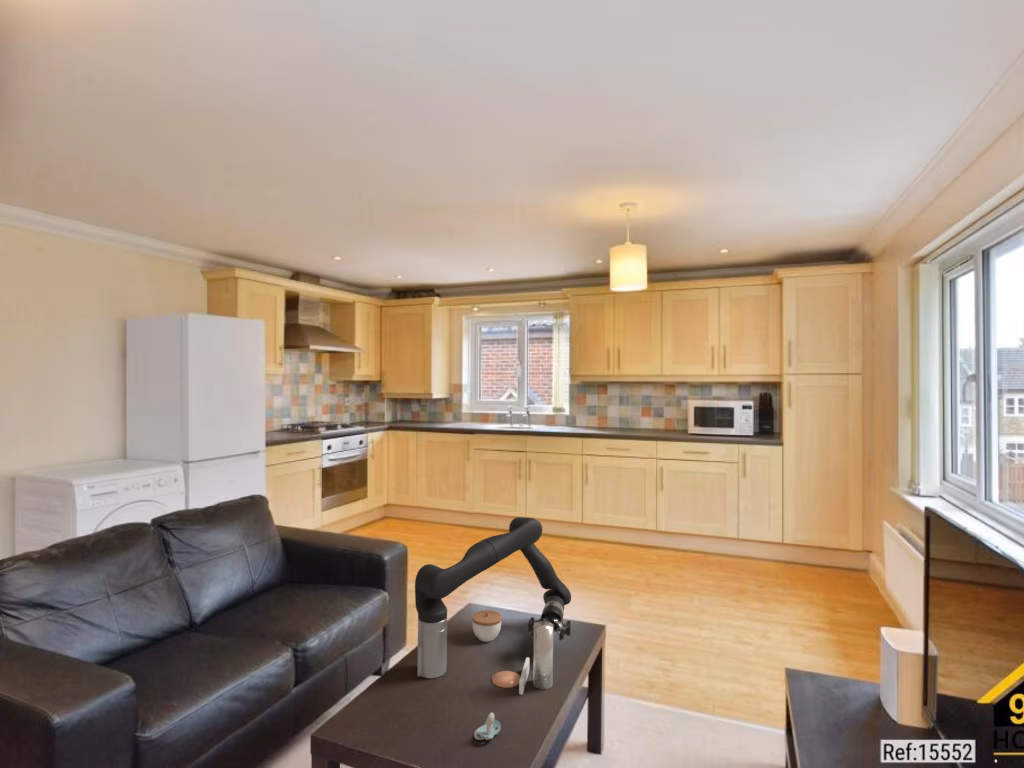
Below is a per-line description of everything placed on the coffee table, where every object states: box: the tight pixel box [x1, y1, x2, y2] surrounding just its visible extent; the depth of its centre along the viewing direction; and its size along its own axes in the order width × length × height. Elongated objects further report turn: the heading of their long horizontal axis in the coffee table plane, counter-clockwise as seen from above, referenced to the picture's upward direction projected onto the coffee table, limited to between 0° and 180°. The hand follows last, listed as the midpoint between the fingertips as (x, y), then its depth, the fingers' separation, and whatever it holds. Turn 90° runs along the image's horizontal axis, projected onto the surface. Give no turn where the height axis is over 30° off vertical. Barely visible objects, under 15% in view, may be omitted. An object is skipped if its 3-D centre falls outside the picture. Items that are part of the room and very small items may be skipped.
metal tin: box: [532, 621, 554, 690], centre depth 167 cm, size 6×6×18 cm
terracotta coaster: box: [491, 670, 521, 689], centre depth 169 cm, size 9×9×1 cm
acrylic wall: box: [518, 656, 531, 696], centre depth 168 cm, size 14×1×4 cm, turn 170°
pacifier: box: [473, 712, 502, 741], centre depth 143 cm, size 7×6×6 cm
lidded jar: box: [471, 609, 503, 643], centre depth 196 cm, size 11×11×9 cm
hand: (547, 636), depth 177 cm, fingers open, 8 cm apart
